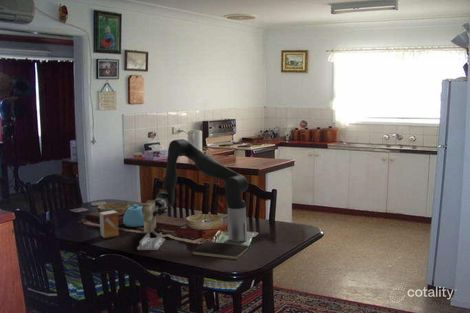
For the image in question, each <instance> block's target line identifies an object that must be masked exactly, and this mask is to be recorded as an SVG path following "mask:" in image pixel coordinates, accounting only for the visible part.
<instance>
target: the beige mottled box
mask: <svg viewBox="0 0 470 313" xmlns="http://www.w3.org/2000/svg"><path fill="white" fill-rule="evenodd" d="M142 207H143V218H144V226H143V232H144V233H152V232H153V231H154V230H155V228H157V215H156V216H155V217H153V212H154V211H155V199H147V201H146V202H144V203H143V204H142Z"/></svg>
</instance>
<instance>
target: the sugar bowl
mask: <svg viewBox="0 0 470 313" xmlns="http://www.w3.org/2000/svg"><path fill="white" fill-rule="evenodd" d="M142 207H143V206H139V204H133V205H132V206H130V207H128V208H127V209H126V211H125V213H124V214H123V216H122V218H123V219H122V223H123V225H125V226H126V227H129V228H139V227H144V218H143V213H142Z"/></svg>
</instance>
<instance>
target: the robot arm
mask: <svg viewBox="0 0 470 313" xmlns="http://www.w3.org/2000/svg"><path fill="white" fill-rule="evenodd" d="M167 148H168V150H167V159H166V168H165V175H164V179H163V183H162V189H163V190H165V191H158V193H157V194H156V196H155V199H154V200H155V211H154V212H153V217H155V216H156V217H157V216H162V215H164V214H167V213H168V208H167V207H172V206H173V205H174V203H175V202H176V201H175V199H176V198H175V196H176V194H175V190H176V186H177V181H178V170H177V162H178V159H179V157H186V158H188V159H189V160H191V161H192V162H193V163H194V164H195V167H196V168H197V169H198V171H200V172H201V173H203V174H204V175H206V176H208V177H210V178H213V179H218V180H221V181H224V182H225V183H224V191H225V193H224V194H225V202H226V204H227V226H228V228H227V230H228V231H227V232H228V240H229V241H230V240H231V241H230V242H233V241H234V242H235V243H240V241H241V242H246V241H247V236H248V233H247V232H248V231H247V229H248V228H247V216H246V215H247V208H246V206H247V205H246V201H245V200H244V199H241V194H242V193H245V192H246V191H247V190H248V189H249V181H248V179H247V178H246V177H245V176H244V175H242V174H240V173H238V172H236V171H234V170H232V169H230V168H228V167H226V166H225V165H224V164H222V163H221V162H219V161H217V160H216V159H214V158H213V157H211V156H210V155H208V154H206V153H205V152H203V151H201V150H200V149H198V148H197V147H196V146H195V145H193V144H192V143H191V142H190V141H188V140H186V139H183V138H182V139H173V140H172V141H170V143H169V145H168V147H167ZM141 207H142V213H143V206H141ZM234 242H233V243H234Z"/></svg>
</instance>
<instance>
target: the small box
mask: <svg viewBox="0 0 470 313" xmlns="http://www.w3.org/2000/svg"><path fill="white" fill-rule="evenodd" d="M98 214H99V225H100V226H99V228H100V229H99V230H100V236H101V237H103V238H104V239H108V238H113V237H118V236H120V235H119V234H120V232H119V215H118V212H117V211H116V210H109V211H107V210H106V211H101V212H99V213H98Z"/></svg>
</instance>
